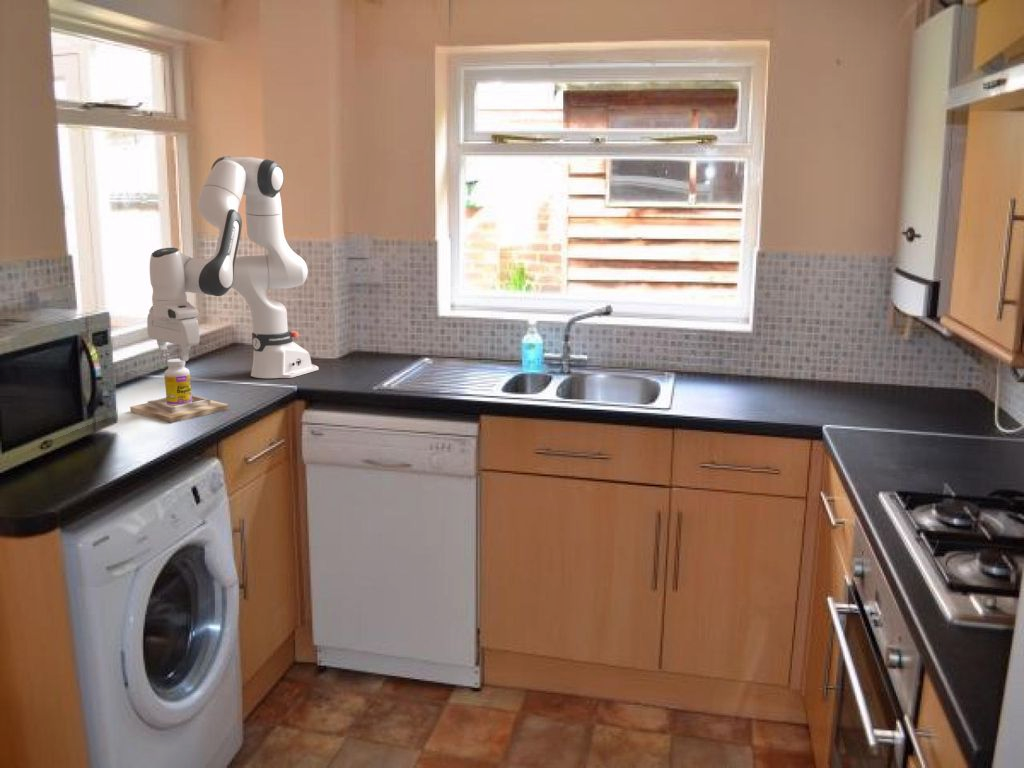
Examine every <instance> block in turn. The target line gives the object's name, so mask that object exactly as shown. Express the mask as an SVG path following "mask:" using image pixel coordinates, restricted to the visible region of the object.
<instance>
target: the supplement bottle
mask: <svg viewBox="0 0 1024 768" xmlns="http://www.w3.org/2000/svg"><path fill="white" fill-rule="evenodd" d="M166 365H167V367H168V368H167V369H166V370H165V371H164V385H165V386H164V387H165V398H166V400H167V405H169V406H178V405H182V404H187V403H191V402H192V396H191V395H192V386H191V385H192V384H191V373H190V369H188V368H187V367H186V361H181V360H180V358H169V359H167V360H166Z"/></svg>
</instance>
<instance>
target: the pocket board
mask: <svg viewBox="0 0 1024 768" xmlns="http://www.w3.org/2000/svg"><path fill="white" fill-rule="evenodd" d="M191 396H192V402H191V403H187V404H182V405H178V406H169V405H167V400H166V397H161V398H158V399H153V400H148V401H147V402H145V403H141V404H136V405H132V406H129V408H130V410H129V411H130V412H131V413H133V412H134V413H133V414H137V413H138V415H140V414H141V415H140V416H144V417H149V418H151V419H154V418H155V420H158V419H159V420H158V421H162V422H165V421H166V423H169V422H170V423H169V424H174V423H178V421H179V422H182V421H181V420H183V421H186V419H187V420H191V419H195V418H194V417H196V418H200V417H203V416H208V414H209V415H213V414H216V412H217V413H220V412H219V411H221V412H224V411H223V410H226V411H229V410H230V404H228V403H225V402H219V401H215V400H212V399H210V398H206V397H202V396H198V395H194V394H191ZM228 409H229V410H228ZM212 413H213V414H212ZM199 416H200V417H199ZM190 418H191V419H190Z"/></svg>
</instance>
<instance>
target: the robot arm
mask: <svg viewBox="0 0 1024 768" xmlns="http://www.w3.org/2000/svg"><path fill="white" fill-rule="evenodd" d="M210 169H211V170H210V172H209V173H208V175H207V177H206V179H205V181H204V183H203V185H202V187H201V190H200V192H199V196H198V198H197V203H196V204H197V205H196V206H197V209H198V212H199V214H200V216H201V217H202V218H203V219H204V220H205V221H206V222H207V223H208V224H209V225H211V226H213V227H215V228H217V229H218V230H219V233H218V240H217V243H216V248H215V253H214V255H213V256H211V257H210V258H197V257H196V258H195V257H190V256H188V255H186V254H184V253H182V252H181V250H180V249H179V248H176V247H165V248H164V247H163V248H159V249H156V250H154V251H153V252H152V253H151V255H150V259H149V279H150V281H149V282H150V284H151V288H152V296H151V299H152V300H151V301H152V302H151V303H152V306H151V307H150V309H149V310H148V311H149V313H148V314H147V319H146V324H147V327H146V329H147V331H146V332H147V336H148V338H149V339H151V340H156V344H157V346H158V348H159V350H160V356H162V357H169V356H170V349H168V346H167V343H169V344H174V345H177V346H180V349H181V353H180V354H179V359H180V360H181V361H185V362H188V361H189V359H190V357H189V355H190V351H191V349H192V348H191V347H195V346H198V345H199V343H200V327H199V321H198V319H197V317H199V310H198V309H197V308H196V307H195V306H194V305H192V304H191V303H190V302H189V301H188V299H187V298H188V297H187V293H191V294H201V295H202V294H203V295H209V296H212V297H213V296H214V297H222V296H224V295H225V294H226V293H228V292H229V290H231V288H232V289H233V290H235V291H236V292H238V294H240V295H241V296H242V297H243V298H244V300H245V301H246V303H247V305H248V307H249V310H250V315H251V323H252V324H251V325H252V333H251V343H252V347H253V357H252V358H253V359H252V368H251V373H250V377H253V378H257V379H292V378H295V377H299V376H302V375H307V374H308V373H312V372H316V371H319V369H320V368H319V366H317V365H315V364H313V363H312V360H311V355H310V353H309V351H308V350H306V349H305V348H304V347H301V345H299V344H297V343H296V342H294V339H293V338H295V339H297V338H298V337H299V335H300V334H299V332H298V331H290V330H289V325H288V310H287V308H286V306H285V305H284V304H283V303H282V302H280V301H278V300H275V299H272V298H271V297H269V296H268V295H267V291H269V290H285V289H292V288H296V287H300V286H303V285H304V284H305V283H306V280H307V278H308V275H309V269H308V265H307V263H306V262H305V260H304V259H303V258H302V257H301V256H299V255H298V254H297V253H296V252H294V250H292V248H291V247H290V246H289V245H290V244H288V241H287V239H286V235H285V232H284V225H283V224H284V223H283V209H282V200H281V199H282V197H281V195H280V194H281V193H280V191H281V190H282V188H283V186H284V182H285V175H284V171H283V168H282V167H281V165H280V164H279V163H278V162H276V161H274V160H271V159H264V158H258V157H253V156H246V157H245V156H237V157H236V156H234V157H233V156H229V155H228V156H222V157H219V158H216V160H215V161H214V162H213V164H212V166H211V168H210ZM243 196H245V223H246V235H247V237H248V239H249V240H250V241H251V242H252V243H254V244H256V245H257V246H261V247H263V248H265V249H266V250H267V251H268V253H267V254H265V255H243V256H238V257H237V254H238V249H239V244H240V238H241V234H242V229H243V228H242V227H243V221H242V216H241V214H240V213H239V208H240V204H241V202H242V198H243Z"/></svg>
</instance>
